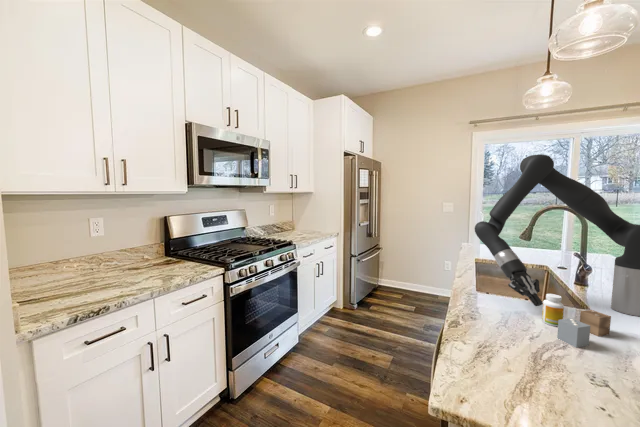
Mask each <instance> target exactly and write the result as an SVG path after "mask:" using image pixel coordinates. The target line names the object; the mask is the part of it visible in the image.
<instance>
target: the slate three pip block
mask: <svg viewBox="0 0 640 427" xmlns="http://www.w3.org/2000/svg"><path fill="white" fill-rule="evenodd" d="M590 335H591V333H590V325H587V324H585V323H582V322H580V320H577V319H575V318H572V317H569V318H563V319H560V320H558V327H557V335H556V336H557V338H558V339H557V338H556V339H557V340H559V339H560V340H559V341H561V340H562V342H563V341H564V343H565V342H566V343H565V344H567V343H568V345H569V346H572V347H573V348H576V349H577V348H582V347H588V346H590V338H591V337H590Z"/></svg>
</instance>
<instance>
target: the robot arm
mask: <svg viewBox="0 0 640 427" xmlns="http://www.w3.org/2000/svg"><path fill="white" fill-rule="evenodd" d="M519 164H520V165H519V169H520V172H521V175H520V177H519V178H518V179H517V181H516V182H515V183H514V184H513V185H512V186H511V188H509V189H508V190H507V191H506V192H505V193H504V194H503V195H502V196H501V197H500V198H499V199H498V200H497V202H495V204H494V206H493V207H492V208H491V210H490V211H489V216H490V218H489V220H488V221H479V222H477V223H475V226H474V233H475V235H476V236H477V238H478V239H479V240H480V241H481V242H482V243H483V244H484V246H486V248H487V249H488V250H489V252H490V254H491V255H492V256H493V258H494V260H495V262H496V263H497V265H498V267H499V268H500V270H501V271H502V272H503V274H504V275H505V277H506V278H507V279H509V281H510V282H509V283H508V284H507V285H508V287H509V288H510V289H512V290H514V291H515V292H517V293H518V294H519V295H521V296H523V297H524V296H525V297H527V298H528V299H529V300H530V302H531V303H532V304H533V306H535V307H541V306H543V301H542V300H541V298H540V297H539V295H538V293H540V290H541V289H540V281H539V279H538V278H532V276H531V275H530V274H528V273H527V270H528V268H527V267H526V266H525V265H524V263H523V262H522V260H521V259H520V258H519V257H518V255H517V253H515V252H514V250H513V249H512V248H511V247H510V245H509V244H508V243H507V241H506V240H505V239H503V238H502V237H500V235H501V233H502V232H503V229H504V226H505V224H506V222H507V221H508V219H509V218H510V216H512V214H513V213H514V212H515V210H516V209H517V208H518V207H519V206H520V204H521V203H522V202H523V201H524V199H525V198H526V197H527V196H528V194H530V193H531V192H532V190H533V189H535V188H536V187H537V185H538V184H539V185H541V186H543V187H544V188H545V189H546V190H548V192H550V193H551V194H552V195H554V196H555V197H556V198H557V199H558V200H559V201H561V202H562V204H564V205H566V207H568V208H570V209H571V210H573V212H576V214H578V215H579V216H581V217H583V218H584V219H585V220H587V221H588V222H590V223H591V224H592V225H595V226H596V227H597V228H599V229H600V230H601V231H602V232H603V233H604V234H606V236H607V237H608V238H610V240H612V241H613V242H614V243H616V244H617V245H619V246H621V247H623V248H624V250H623V254H622V255H620V256H617V257H615V259H614V268H613V277H612V278H613V279H612V289H611V291H612V292H611V301H610V302H611V303H610V308H611V309H612V310H614V311H617V312H618V313H622V314H626V315H629V316H630V315H631V316H635V317H640V224H637V223H636V224H635V223H631V222H629V221H627V220H626V219H624V218H622V217H621V216H619V215H618V214H616V213H615V212H614V211H613V210H612V209H611V207H610V205H609V203H608V202H607V201H606V199H605V198H604V197H603V196H602V195H600V194H599V193H598V192H596V191H595V190H593V189H592V188H590V187H589V186H587V185H585V184H584V183H582V182H580V181H578V180H575V179H574V178H570V177H569V176H568V175H567V176H566V175H564V174H562V173H561V172H560V171H558V169H555V168H554V167H555V162H554V160H553V158H552V157H551V156H549V155H547V154H533V155H532V154H531V155H527V156H526V157H524V158H523V159H522V160H521V162H520V163H519Z"/></svg>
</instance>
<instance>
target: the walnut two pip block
mask: <svg viewBox="0 0 640 427" xmlns="http://www.w3.org/2000/svg"><path fill="white" fill-rule="evenodd" d="M611 321H612V316H611V315H608V314H605V313H602V312H599V311H596V310H593V309H587V310H580V313H579V322H582V323H585V324H587V325H590V335H593V336H596V337H603V335H605V336H610V334H611V333H610V332H611V323H612V322H611Z"/></svg>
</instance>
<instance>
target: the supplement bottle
mask: <svg viewBox="0 0 640 427" xmlns="http://www.w3.org/2000/svg"><path fill="white" fill-rule="evenodd" d="M562 299H563V298H562V296H561V295H558V294H554V293H546V294H545V299H544V300H543V301H542V303H543V304H542V311H541V312H542V313H541V314H542V315H541V321H542V323H544V324H546V325H548V326H551V325H552V326H551V327H556V326H558V320H560V319H564V309H565V306H564V304H563V303H562Z"/></svg>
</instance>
